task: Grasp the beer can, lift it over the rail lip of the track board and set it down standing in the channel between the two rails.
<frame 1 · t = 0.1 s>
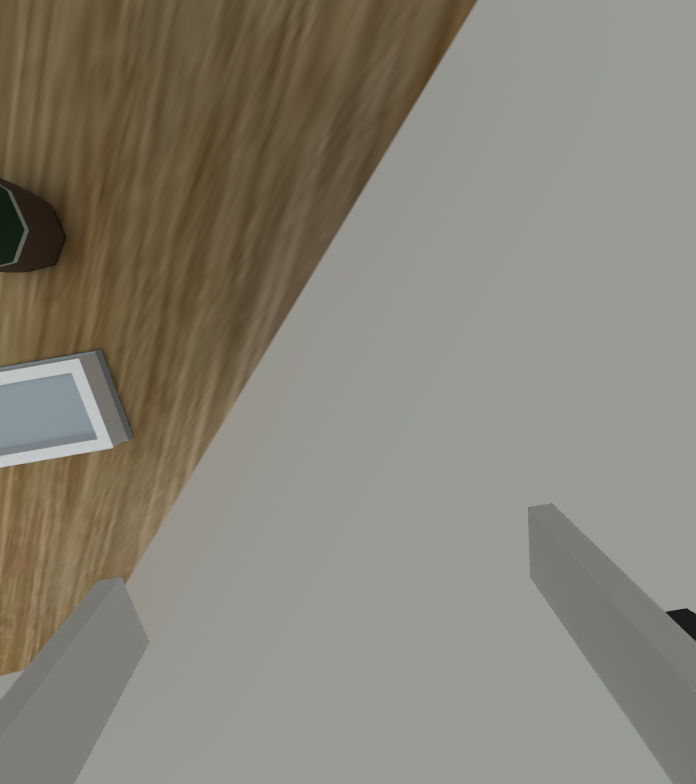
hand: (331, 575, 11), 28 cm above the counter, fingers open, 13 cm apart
beer bottle: (26, 231, 33), on the counter
track: (9, 413, 38), on the counter
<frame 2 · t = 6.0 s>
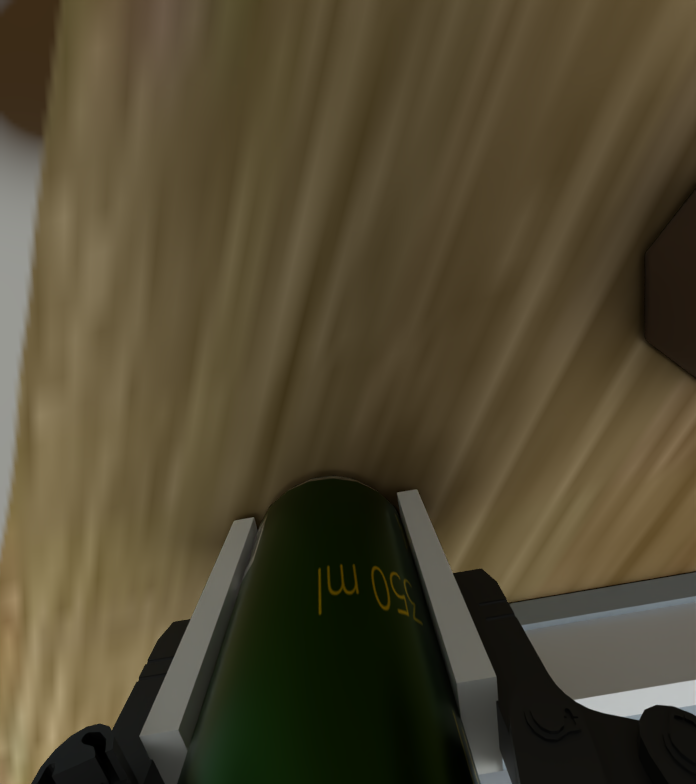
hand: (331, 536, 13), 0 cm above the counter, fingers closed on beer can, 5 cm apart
track: (499, 690, 16), on the counter
beer can: (331, 527, 14), on the counter, touching gripper
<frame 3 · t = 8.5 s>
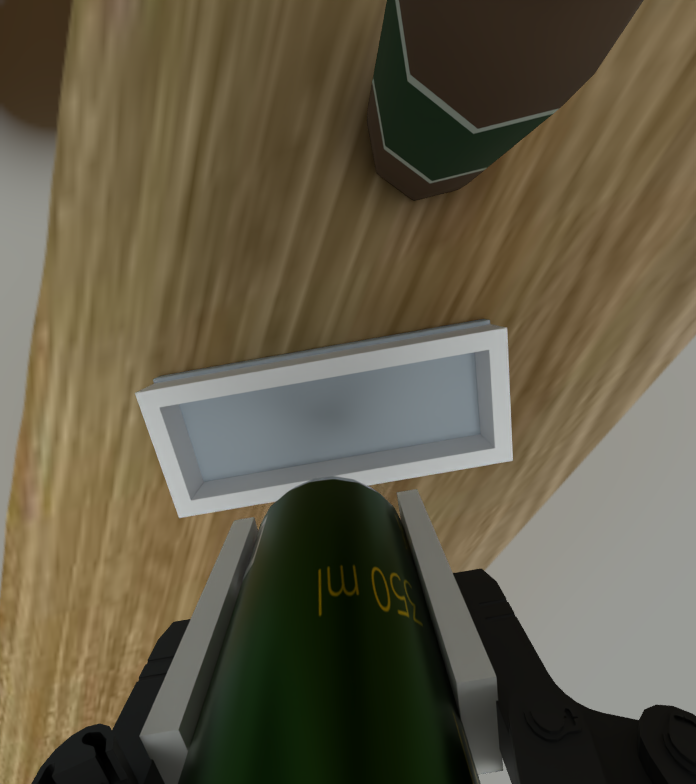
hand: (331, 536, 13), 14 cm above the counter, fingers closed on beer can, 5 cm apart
beer bottle: (424, 137, 22), on the counter
track: (333, 411, 27), on the counter
beer can: (332, 528, 14), point 14 cm above the counter, touching gripper
when the fingers open (3 cm above the counter, at t = 11.1 s): beer can drops 1 cm, resting on track.
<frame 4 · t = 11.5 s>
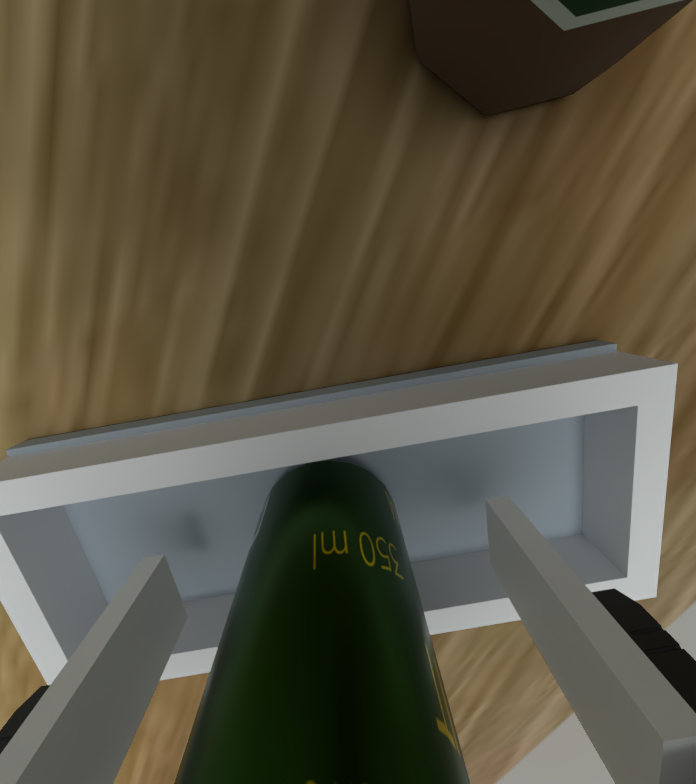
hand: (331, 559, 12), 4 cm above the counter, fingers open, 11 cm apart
track: (332, 495, 16), on the counter
beer can: (329, 505, 15), point 1 cm above the counter, touching track
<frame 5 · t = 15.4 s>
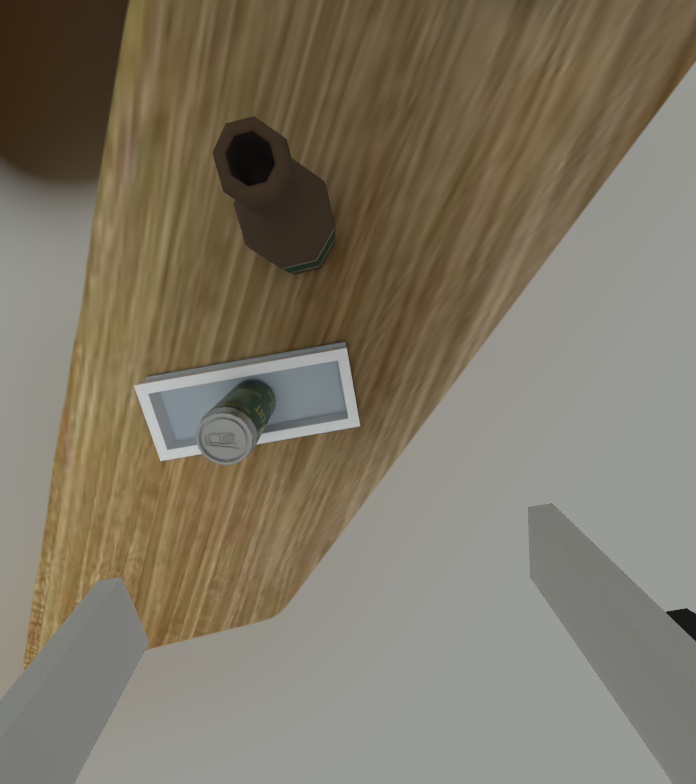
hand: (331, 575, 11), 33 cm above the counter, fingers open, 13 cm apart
beer bottle: (300, 239, 39), on the counter
track: (256, 397, 43), on the counter
beer can: (254, 399, 43), point 1 cm above the counter, touching track
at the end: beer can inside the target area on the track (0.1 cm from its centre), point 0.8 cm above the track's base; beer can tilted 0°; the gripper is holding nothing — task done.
